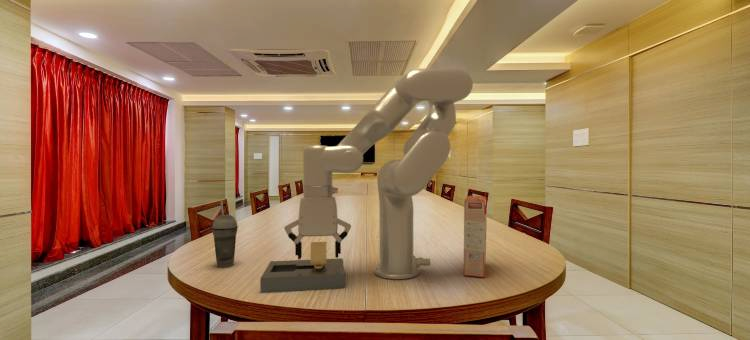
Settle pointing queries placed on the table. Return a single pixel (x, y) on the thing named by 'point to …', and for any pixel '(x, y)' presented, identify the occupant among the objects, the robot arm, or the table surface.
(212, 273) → the table surface
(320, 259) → the brass peg
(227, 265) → the beverage cup
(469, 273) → the cracker box
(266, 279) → the keyhole plate
